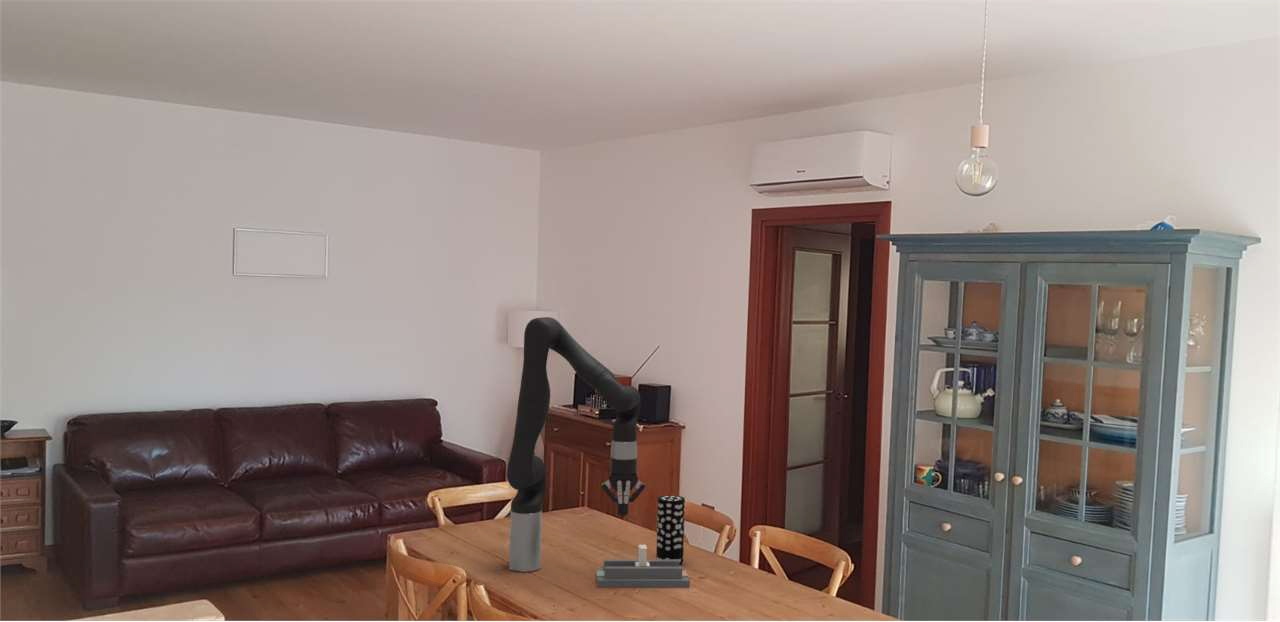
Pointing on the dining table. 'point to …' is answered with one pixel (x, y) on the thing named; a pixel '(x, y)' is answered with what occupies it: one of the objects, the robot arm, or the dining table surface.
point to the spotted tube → (670, 527)
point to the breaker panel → (642, 574)
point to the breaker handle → (642, 556)
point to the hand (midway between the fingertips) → (622, 516)
